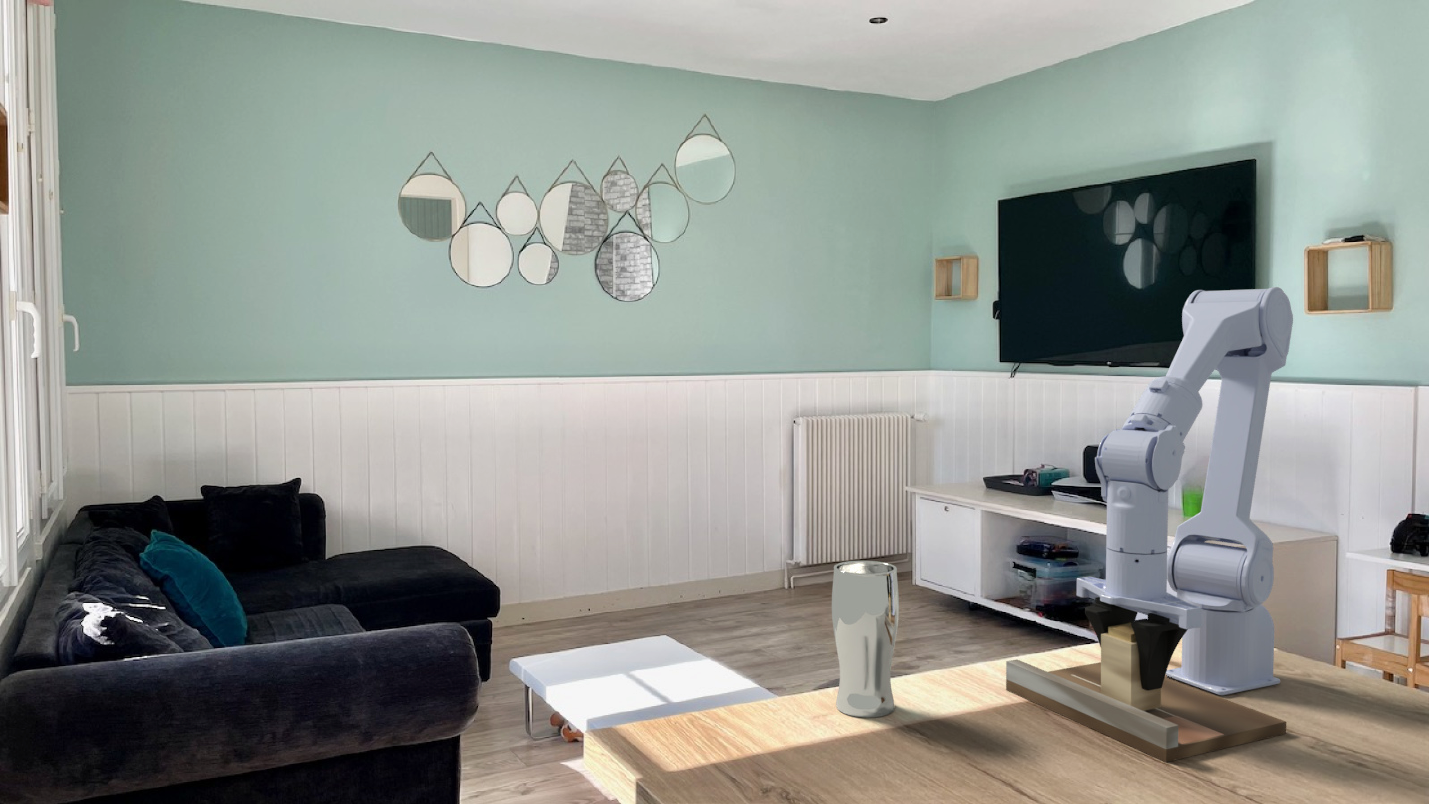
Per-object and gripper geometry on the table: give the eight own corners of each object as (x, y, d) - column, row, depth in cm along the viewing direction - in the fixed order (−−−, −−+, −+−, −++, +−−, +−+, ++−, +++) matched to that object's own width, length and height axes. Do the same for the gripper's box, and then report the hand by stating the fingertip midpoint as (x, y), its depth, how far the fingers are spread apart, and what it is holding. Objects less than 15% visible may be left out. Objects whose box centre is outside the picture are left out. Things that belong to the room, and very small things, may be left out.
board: (1115, 669, 123) (1115, 642, 123) (1286, 733, 103) (1286, 701, 103) (1006, 689, 117) (1006, 661, 117) (1165, 762, 97) (1166, 727, 97)
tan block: (1130, 694, 110) (1130, 621, 109) (1160, 707, 106) (1161, 630, 106) (1100, 701, 108) (1101, 626, 108) (1130, 713, 105) (1131, 636, 104)
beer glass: (896, 697, 115) (896, 560, 114) (901, 720, 108) (901, 575, 107) (831, 695, 115) (831, 559, 114) (832, 718, 108) (832, 574, 108)
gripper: (1054, 539, 111) (1053, 666, 112) (1164, 566, 98) (1161, 710, 99) (1105, 534, 114) (1103, 657, 115) (1219, 559, 101) (1216, 699, 102)
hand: (1134, 681), depth 107 cm, fingers closed on tan block, 4 cm apart
